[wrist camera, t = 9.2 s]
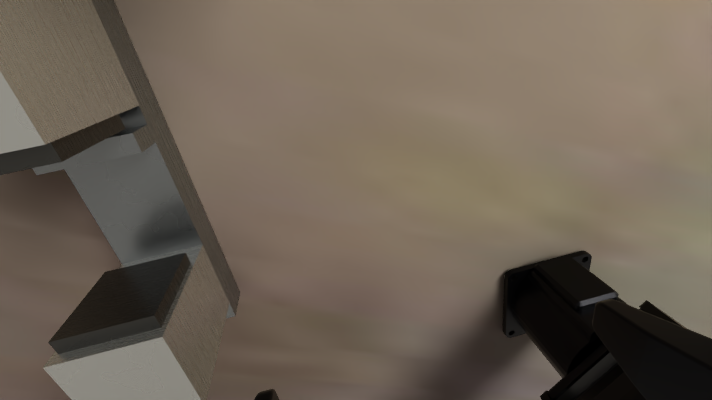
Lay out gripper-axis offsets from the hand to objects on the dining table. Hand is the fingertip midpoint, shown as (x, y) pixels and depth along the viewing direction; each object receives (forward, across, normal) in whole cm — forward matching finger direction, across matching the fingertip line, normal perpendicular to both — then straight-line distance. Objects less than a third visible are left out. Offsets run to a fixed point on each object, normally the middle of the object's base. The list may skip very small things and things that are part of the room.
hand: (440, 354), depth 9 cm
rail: (+12, +11, -4) cm, 16 cm away
